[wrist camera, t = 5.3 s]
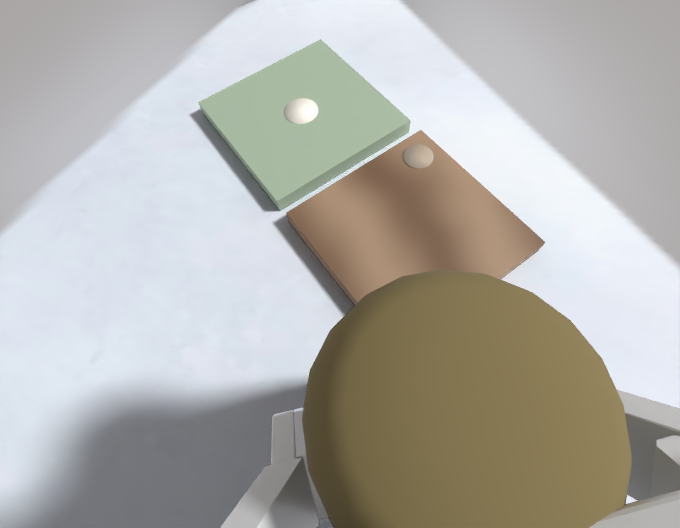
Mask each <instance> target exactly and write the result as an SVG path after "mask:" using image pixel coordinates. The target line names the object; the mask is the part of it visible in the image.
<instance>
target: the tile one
mask: <svg viewBox="0 0 680 528" xmlns="http://www.w3.org/2000/svg"><path fill="white" fill-rule="evenodd" d="M198 103H199V105H200V107H201V109H202V111H203V114H204V115H205V116H206V117H207V119H208V120H209V121H210V123H211V124H212V125H213V126H214V128H215V129H216V130H217V131H218V133H219V134H220V135H221V136H222V138H223V139H224V140H225V142H226V143H227V144H228V145H229V147H230V148H231V149H232V150H233V152H234V153H235V154H236V155H237V157H238V158H239V159H240V161H241V162H242V163H243V164H244V166H245V167H246V168H247V169H248V171H249V172H250V173H251V174H252V176H253V177H254V178H255V180H256V181H257V182H258V183H259V185H260V186H261V187H262V188H263V190H264V191H265V192H266V193H267V195H268V196H269V197H270V199H271V200H272V201H273V202H274V204H275V205H276V206H277V207H278V209H279V210H280V211H281V210H282V209H284V208H285V207H287V206H289V205H290V204H292V203H294V202H295V201H297V200H299V199H300V198H302V197H303V196H305V195H307V194H308V193H310V192H312V191H313V190H315V189H316V188H318V187H320V186H321V185H323V184H325V183H326V182H328V181H330V180H331V179H333V178H334V177H336V176H338V175H339V174H341V173H343V172H344V171H346V170H347V169H349V168H351V167H352V166H354V165H356V164H357V163H359V162H361V161H362V160H364V159H365V158H367V157H369V156H370V155H372V154H374V153H375V152H377V151H378V150H380V149H382V148H383V147H385V146H387V145H388V144H390V143H392V142H393V141H395V140H396V139H398V138H400V137H401V136H403V135H405V134H406V133H408V132H409V127H410V120H409V119H408V118H407V117H406V116H405V115H404V114H403V113H402V112H400V111H399V110H398V109H397V108H396V107H395V106H394V105H393V104H392V103H390V102H389V101H388V100H387V99H386V98H385V97H384V96H383V95H382V94H380V93H379V92H378V91H377V90H376V89H375V88H374V87H373V86H372V85H371V84H369V83H368V82H367V81H366V80H365V79H364V78H363V77H362V76H361V75H359V74H358V73H357V72H356V71H355V70H354V69H353V68H352V67H351V66H349V65H348V64H347V63H346V62H345V61H344V60H343V59H342V58H341V57H340V56H338V55H337V54H336V53H335V52H334V51H333V50H332V49H331V48H330V47H328V46H327V45H326V44H325V43H324V42H323V41H322V40H319V41H317V42H315V43H313V44H311V45H309V46H307V47H305V48H303V49H301V50H299V51H297V52H295V53H293V54H292V55H290V56H288V57H286V58H284V59H282V60H280V61H278V62H276V63H274V64H272V65H270V66H268V67H266V68H264V69H262V70H260V71H259V72H257V73H255V74H253V75H251V76H249V77H247V78H245V79H243V80H241V81H239V82H237V83H235V84H233V85H231V86H229V87H227V88H226V89H224V90H222V91H220V92H218V93H216V94H214V95H212V96H210V97H208V98H206V99H204V100H202V101H200V102H198Z"/></svg>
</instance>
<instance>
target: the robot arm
mask: <svg viewBox="0 0 680 528" xmlns="http://www.w3.org/2000/svg"><path fill="white" fill-rule="evenodd" d="M617 392H618V394H619V396H620V399H621V401H622V403H623V405H624V411H625V417H626V424H627V430H628V436H629V443H630V449H631V455H632V465H631V472H630V478H629V484H628V491H627V495H629V496H631V497H633V498H634V499H636V500H638V501H636V502H632V503H629V504H625V505H624V507H622V508H620V509H618V510H616V511H614V512H612V513H611V514H609V515H608V516H606V517H604V518H603V519H601V520H600V521H598V522H597V523H595V524H594V525H592V526H591V527H590V528H680V409H679V408H676V407H672V406H669V405H666V404H662V403H659V402H656V401H652V400H649V399H646V398H642V397H639V396H636V395H633V394H629V393H626V392H623V391H619V390H617ZM303 408H304V407H303ZM303 408H298V409H294V410H290V411H285V412H281V413H277V414H274V415H273V418H272V443H271V465H268V466H265V467H264V468H263V469H262V471H261V472H260V474H259V475H258V476H257V478H256V479H255V480H254V482H253V483H252V485H251V486H250V487H249V489H248V490H247V491H246V493H245V494H244V495H243V497H242V498H241V500H240V501H239V502H238V504H237V505H236V506H235V508H234V509H233V511H232V512H231V513H230V515H229V516H228V517H227V519H226V520H225V522H224V523H223V524H222V526H221V527H220V528H317V526H318V524H319V520H320V519H323V518H327V517H328V515H327V513H326V510H325V508H324V506H323V504H322V501H321V499H320V497H319V495H318V492H317V490H316V488H315V486H314V483H313V481H312V479H311V477H310V474H309V472H308V464H307V456H306V448H305V441H304V433H303V425H302V414H303Z"/></svg>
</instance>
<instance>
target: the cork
mask: <svg viewBox="0 0 680 528" xmlns="http://www.w3.org/2000/svg"><path fill="white" fill-rule="evenodd" d="M302 425H303V433H304V441H305V448H306V456H307V464H308V472H309V474H310V477H311V479H312V481H313V483H314V486H315V488H316V490H317V492H318V495H319V497H320V499H321V501H322V504H323V506H324V508H325V510H326V513H327V515H328V517H329V519H330V522H331V524H332V526H333V527H334V528H590V527H591V526H592V525H594V524H595V523H597V522H598V521H600V520H601V519H603V518H604V517H606V516H608V515H609V514H611V513H612V512H614V511H616V510H618V509H620V508H622V507H624V505H625V504H626V497H627V491H628V484H629V478H630V472H631V465H632V455H631V449H630V443H629V436H628V430H627V424H626V417H625V411H624V405H623V403H622V401H621V399H620V396H619V394H618V392H617V390H616V388H615V386H614V384H613V381H612V379H611V377H610V375H609V373H608V371H607V368H606V366H605V364H604V362H603V360H602V358H601V357H600V356H599V354H598V353H597V352H596V351H595V350H594V348H593V347H592V346H591V345H590V344H589V342H588V341H587V340H586V339H585V338H584V336H583V335H582V334H581V333H580V331H579V330H578V329H577V328H576V327H575V325H574V324H573V323H572V322H571V321H570V320H569V319H568V318H566V317H565V316H564V315H562V314H561V313H559V312H558V311H557V310H555V309H554V308H553V307H551V306H550V305H549V304H547V303H546V302H544V301H543V300H542V299H540V298H539V297H538V296H536V295H535V294H533V293H532V292H530V291H528V290H525V289H523V288H520V287H517V286H515V285H512V284H510V283H507V282H505V281H502V280H500V279H497V278H495V277H492V276H490V275H487V274H482V273H473V272H464V271H455V270H446V269H441V270H435V271H430V272H424V273H418V274H412V275H407V276H402V277H400V278H398V279H396V280H394V281H392V282H390V283H388V284H386V285H384V286H382V287H380V288H378V289H376V290H374V291H372V292H370V293H369V294H367V295H365V296H364V297H363V298H362V299H361V300H360V301H359V302H358V303H357V304H356V305H355V306H354V307H353V308H352V309H351V310H350V311H349V312H348V313H347V314H346V315H345V316H344V317H343V318H342V319H341V320H340V321H339V322H338V323H337V324H336V325H335V326H334V327H333V328H332V329H331V330H330V332H329V334H328V336H327V338H326V340H325V342H324V344H323V346H322V348H321V350H320V352H319V354H318V356H317V358H316V359H315V361H314V363H313V365H312V367H311V369H310V373H309V379H308V385H307V391H306V396H305V402H304V408H303V414H302Z"/></svg>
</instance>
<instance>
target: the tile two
mask: <svg viewBox="0 0 680 528" xmlns="http://www.w3.org/2000/svg"><path fill="white" fill-rule="evenodd" d="M287 217H288V220H289V223H290V224H291V225H292V226H293V228H294V229H295V230H296V231H297V233H298V234H299V235H300V236H301V238H302V239H303V240H304V242H305V243H306V244H307V245H308V247H309V248H310V249H311V250H312V252H313V253H314V254H315V255H316V257H317V258H318V259H319V261H320V262H321V263H322V264H323V266H324V267H325V268H326V269H327V271H328V272H329V273H330V274H331V276H332V277H333V278H334V280H335V281H336V282H337V283H338V285H339V286H340V287H341V288H342V290H343V291H344V292H345V293H346V295H347V296H348V297H349V298H350V300H351V301H352V302H353V304H354V305H356V304H357V303H358V302H359V301H360V300H361V299H362V298H363V297H364V296H365V295H367V294H369V293H370V292H372V291H374V290H376V289H378V288H380V287H382V286H384V285H386V284H388V283H390V282H392V281H394V280H396V279H398V278H400V277H402V276H407V275H412V274H418V273H424V272H430V271H435V270H441V269H446V270H455V271H464V272H473V273H482V274H487V275H490V276H492V277H495V278H497V279H500V280H501V279H502V278H503V277H504V276H506V275H507V274H508V273H510V272H511V271H512V270H514V269H515V268H516V267H517V266H519V265H520V264H521V263H523V262H524V261H525V260H527V259H528V258H529V257H531V256H532V255H533V254H534V253H536V252H537V251H538V250H539V249H540V248H541V247H542V246H543V244H544V243H545V242H544V241H543V240H542V239H541V238H540V237H539V236H538V235H537V234H536V233H534V232H533V231H532V230H531V229H530V228H529V227H528V226H527V225H526V224H524V223H523V222H522V221H521V220H520V219H519V218H518V217H517V216H516V215H514V214H513V213H512V212H511V211H510V210H509V209H508V208H507V207H506V206H505V205H503V204H502V203H501V202H500V201H499V200H498V199H497V198H496V197H495V196H493V195H492V194H491V193H490V192H489V191H488V190H487V189H486V188H485V187H483V186H482V185H481V184H480V183H479V182H478V181H477V180H476V179H475V178H474V177H472V176H471V175H470V174H469V173H468V172H467V171H466V170H465V169H464V168H462V167H461V166H460V165H459V164H458V163H457V162H456V161H455V160H454V159H452V158H451V157H450V156H449V155H448V154H447V153H446V152H445V151H444V150H443V149H441V148H440V147H439V146H438V145H437V144H436V143H435V142H434V141H433V140H431V139H430V138H429V137H428V136H427V135H426V134H425V133H424V132H423V131H421V130H420V131H418V132H417V133H415V134H413V135H412V136H410V137H409V138H407V139H405V140H404V141H402V142H401V143H399V144H397V145H396V146H394V147H392V148H391V149H389V150H388V151H386V152H384V153H383V154H381V155H379V156H378V157H376V158H375V159H373V160H371V161H370V162H368V163H366V164H365V165H363V166H362V167H360V168H358V169H357V170H355V171H353V172H352V173H350V174H349V175H347V176H345V177H344V178H342V179H341V180H339V181H337V182H336V183H334V184H332V185H331V186H329V187H328V188H326V189H324V190H323V191H321V192H319V193H318V194H316V195H315V196H313V197H311V198H310V199H308V200H306V201H305V202H303V203H302V204H300V205H298V206H297V207H295V208H293V209H292V210H290V211H289V212H287Z"/></svg>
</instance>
